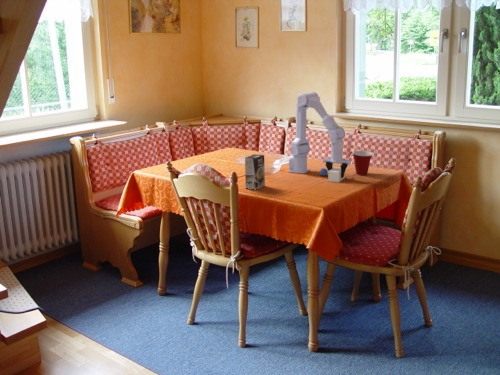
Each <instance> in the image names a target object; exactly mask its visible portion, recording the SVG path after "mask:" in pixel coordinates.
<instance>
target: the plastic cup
mask: <svg viewBox="0 0 500 375" xmlns="http://www.w3.org/2000/svg"><path fill="white" fill-rule="evenodd" d="M351 152H352V155H353V161H354V162H353V163H354V169H355V175H357V176H367V175H368V174H369V173H368V172H369V168H370V165H371V159H372V156H373V154H374V153H373V152H371V151H368V150H353V151H351Z"/></svg>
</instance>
